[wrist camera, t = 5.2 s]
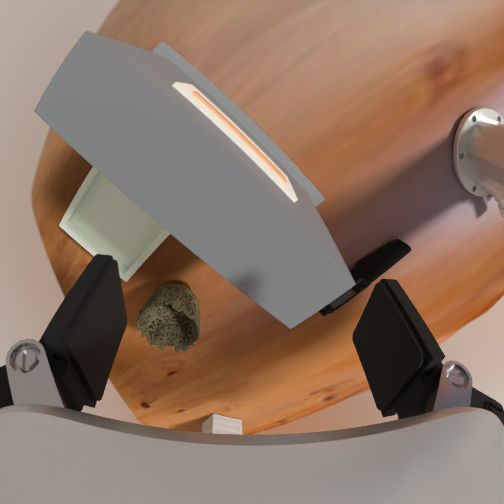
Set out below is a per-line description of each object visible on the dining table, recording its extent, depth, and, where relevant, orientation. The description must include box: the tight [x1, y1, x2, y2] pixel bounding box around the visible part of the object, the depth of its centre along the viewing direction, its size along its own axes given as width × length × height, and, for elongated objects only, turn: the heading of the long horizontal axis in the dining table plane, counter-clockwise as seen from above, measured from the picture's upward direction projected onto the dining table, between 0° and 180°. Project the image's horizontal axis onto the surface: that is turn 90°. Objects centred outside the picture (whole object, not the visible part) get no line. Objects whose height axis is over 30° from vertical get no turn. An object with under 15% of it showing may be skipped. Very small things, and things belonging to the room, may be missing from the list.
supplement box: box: [202, 414, 242, 435], centre depth 53 cm, size 7×7×13 cm
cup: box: [136, 280, 200, 351], centre depth 34 cm, size 8×7×8 cm
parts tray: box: [59, 167, 170, 282], centre depth 31 cm, size 12×12×2 cm
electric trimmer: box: [319, 239, 411, 316], centre depth 36 cm, size 4×16×3 cm, turn 133°
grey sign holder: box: [34, 31, 356, 329], centre depth 20 cm, size 24×7×17 cm, turn 44°
